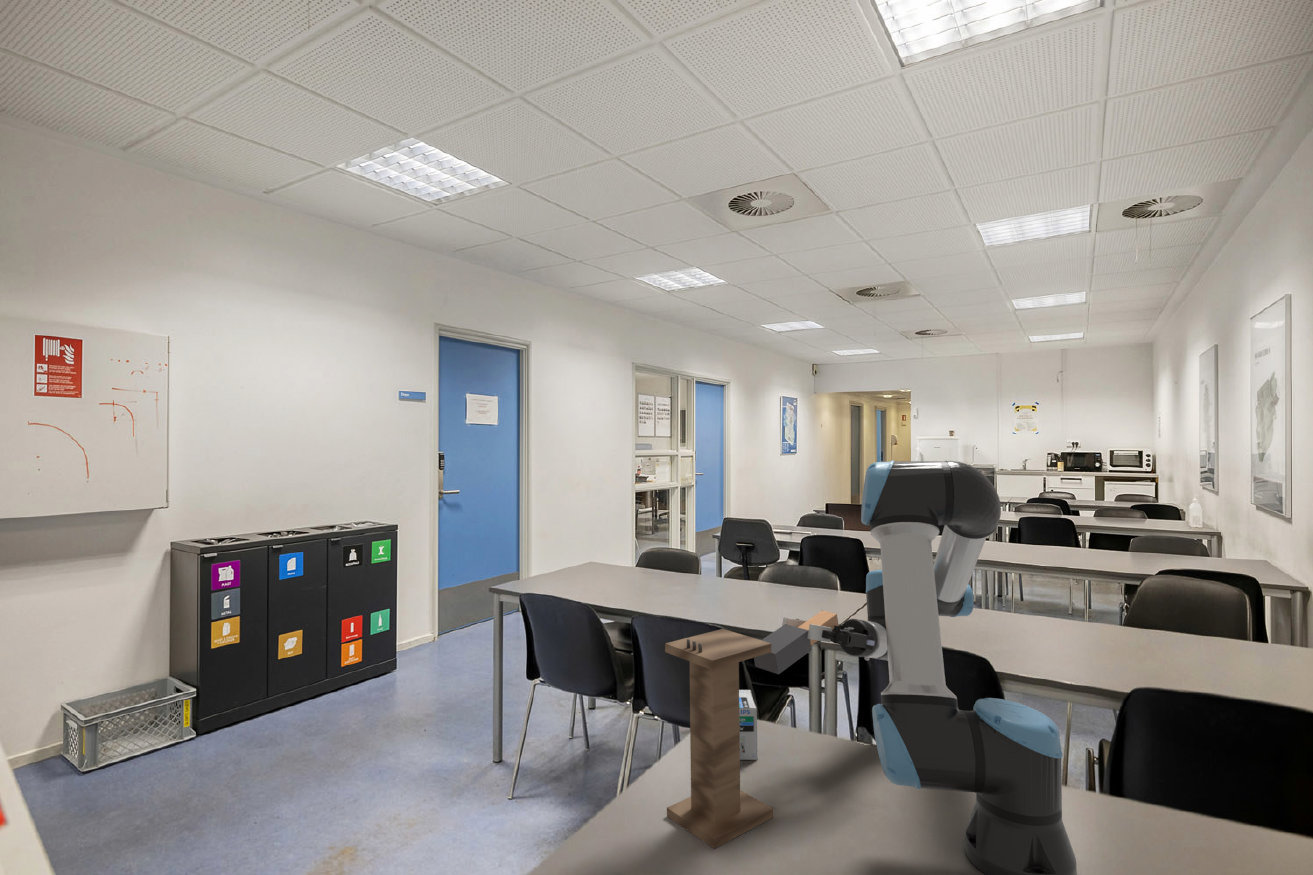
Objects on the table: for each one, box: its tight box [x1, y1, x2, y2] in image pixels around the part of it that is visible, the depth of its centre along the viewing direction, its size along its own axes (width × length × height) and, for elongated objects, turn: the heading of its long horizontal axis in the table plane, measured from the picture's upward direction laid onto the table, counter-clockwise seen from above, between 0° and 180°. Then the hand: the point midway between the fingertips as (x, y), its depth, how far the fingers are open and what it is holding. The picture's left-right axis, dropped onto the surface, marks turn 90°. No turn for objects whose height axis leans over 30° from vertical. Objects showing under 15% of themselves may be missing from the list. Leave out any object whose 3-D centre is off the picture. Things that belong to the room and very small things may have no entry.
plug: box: [753, 610, 840, 675], centre depth 128 cm, size 6×20×4 cm, turn 130°
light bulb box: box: [739, 689, 759, 761], centre depth 141 cm, size 11×7×11 cm, turn 179°
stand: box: [664, 628, 774, 849], centre depth 116 cm, size 12×14×31 cm
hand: (796, 627), depth 127 cm, fingers closed on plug, 5 cm apart
